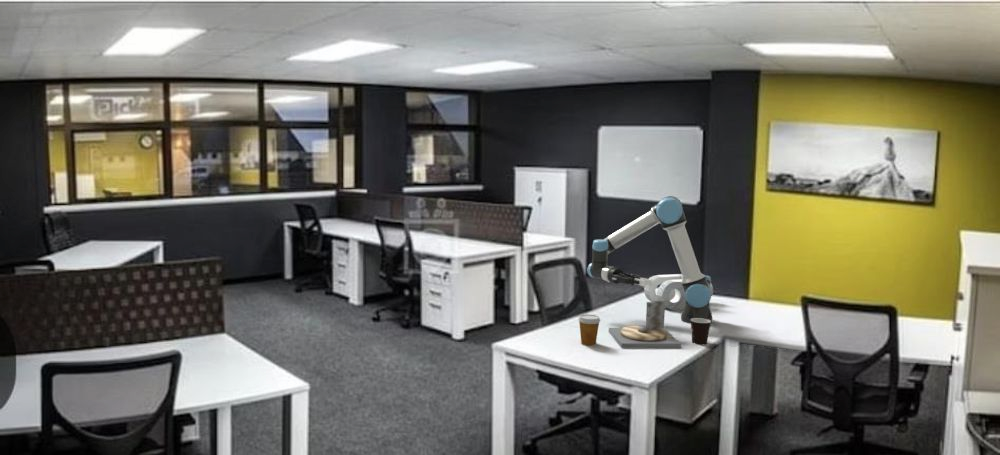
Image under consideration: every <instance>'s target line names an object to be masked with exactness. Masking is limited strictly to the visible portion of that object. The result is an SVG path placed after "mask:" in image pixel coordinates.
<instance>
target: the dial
mask: <svg viewBox="0 0 1000 455" xmlns="http://www.w3.org/2000/svg"><path fill="white" fill-rule="evenodd" d="M665 311H666V307H665V300H657V301H647V302H646V313H645V314H646V315H645V325H629V326H624V327H621V328H622V329H621V335H622V336H624V337H626V338H630V339H634V340H641V341H657V340H662V339H665V338H666V334H667V333H666V331H664V330H662V329H663V328H665Z"/></svg>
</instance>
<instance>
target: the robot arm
mask: <svg viewBox="0 0 1000 455" xmlns="http://www.w3.org/2000/svg"><path fill="white" fill-rule="evenodd" d="M686 223H687V219H686V215H685V212H684V210H683V204H682V201H681V200H680V199H679V198H678V197H676V196H671V195H669V196H664V197H663V198H661V200H660V201H659V202H658V203H656V204H654V206H652V207H651V209H650V210H649V211H648V212H646V213H645V214H643V215H641V216H639V217H638V218H636V219H635V220H633V221H631V222H629V223H628V224H626V225H624V226H622V227H621V228H620V229H618V230H616V231H615V232H613V233H612V234H610V235H608V236H607V237H605V238H603V239H599V238H598V239H594V240H593V242H592V256H591V258H592V259H591V262H590V263H589V264H588V266H587V268H586V269H587V270H586V272H587V274H588V276H589V277H590V278H592V279H597V280H600V281H604V282H607V283H611V284H616V285H617V284H618V285H619V284H620V283H622V284H627V285H631V286H634V285H635V286H641V287H643V288H644V287H646V285H648V286H651V283H652V280H650V279H649V278H645V276H643V275H638V274H635V273H627V272H624V271H623V270H622V269H621V268H620V267H615V266H611V265H608V260H609V259H608V257H609V256H608V255H609V254H610V253H612V252H614V251H616V250H617V249H619V248H621V247H622V246H624V245H626V244H627V243H628V242H631V241H632V240H634V239H635V238H637V237H639V236H640V235H641V234H643V233H645V232H647V231H648V230H650V229H652V228H653V227H655V226H657V225H659V224H660V225H661V228H662V230H665V231H666V233H667V235H668V237H669V238H668V239H669V241H670V243H671V244H670V245H671V248H672V250H673V253H674V255H675V259H676V260H677V265H678V267H679V270H680V272H681V273H680V274H682V276H683V280H682V282H681V283H682V286H683V289H684V292H685V298H686V300H685V306H684V309H682V312H681V314H680V320H681V321H682V322H685V323H689V324H691V319H693V318H703V319H708V320H710V321H711V323H712V322H713V315H712V311H711V307H710V304H711V303H710V302H711V299H712V296H711V290H710V286H711V284H712V279H711V278H712V277H711V276H709V275H705V274H703V273H702V272H701V270H700V267H699V265H698V264H699V263H698V261H697V257H696V255H695V251H694V249H693V246H692V243H691V240H690V237H689V234H688V232H687V229H686V226H685V225H686ZM711 323H710V324H711Z"/></svg>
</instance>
